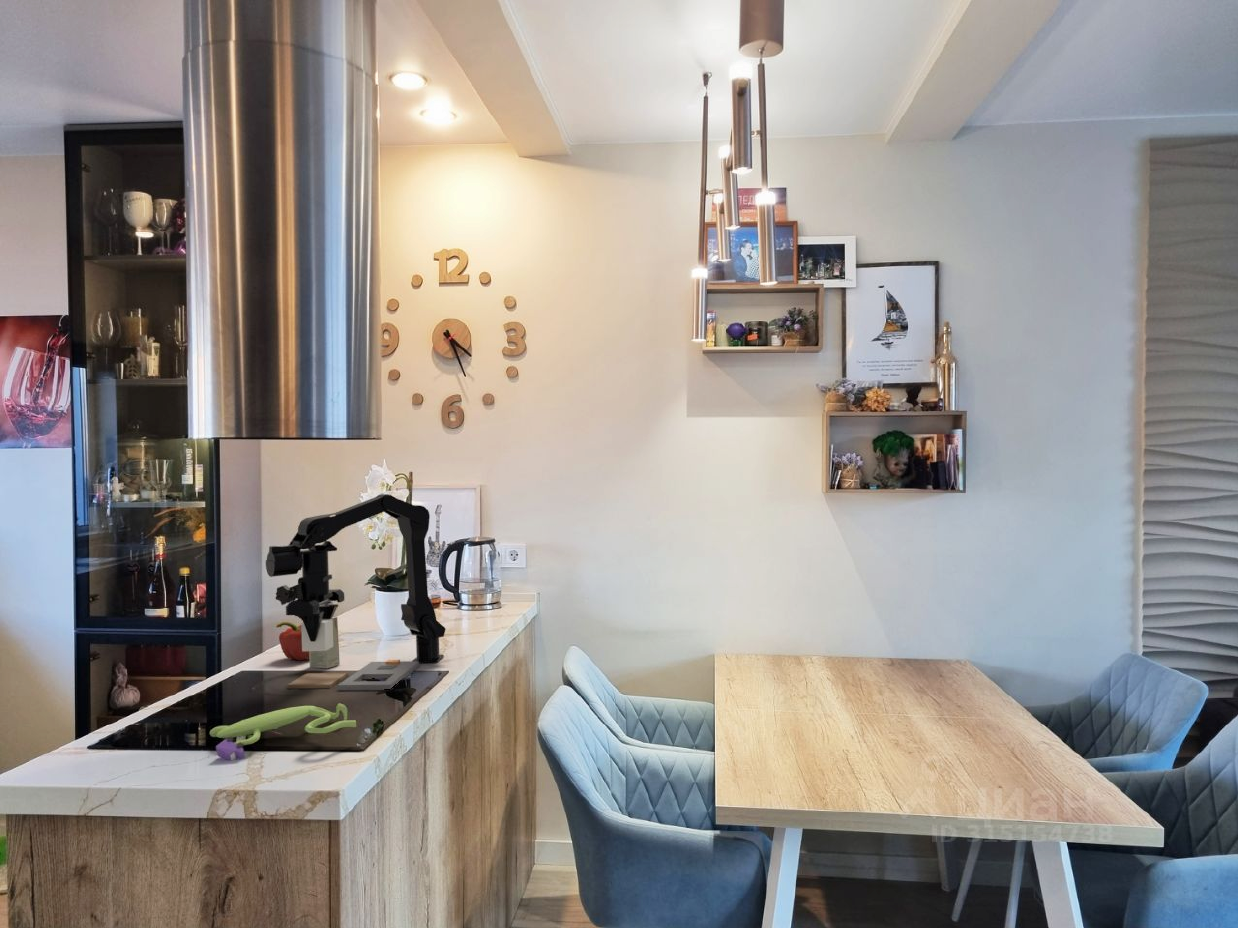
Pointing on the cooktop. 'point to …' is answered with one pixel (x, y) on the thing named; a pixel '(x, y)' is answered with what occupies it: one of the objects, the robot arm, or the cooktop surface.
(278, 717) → the figurine
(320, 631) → the block
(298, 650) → the vegetable
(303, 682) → the walnut coaster
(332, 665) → the skincare box
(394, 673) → the grey slotted tray
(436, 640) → the robot arm
